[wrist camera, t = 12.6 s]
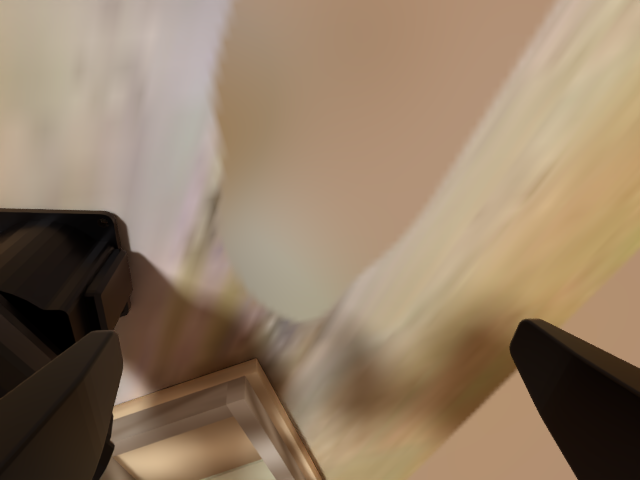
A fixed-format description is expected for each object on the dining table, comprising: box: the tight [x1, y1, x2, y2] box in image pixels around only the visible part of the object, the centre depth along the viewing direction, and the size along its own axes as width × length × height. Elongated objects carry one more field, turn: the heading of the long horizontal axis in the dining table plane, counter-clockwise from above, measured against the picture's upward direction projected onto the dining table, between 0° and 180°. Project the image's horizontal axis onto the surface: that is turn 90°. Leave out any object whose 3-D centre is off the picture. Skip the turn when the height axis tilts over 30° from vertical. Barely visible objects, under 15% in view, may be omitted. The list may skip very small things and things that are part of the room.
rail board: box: [101, 358, 322, 480], centre depth 28 cm, size 17×14×3 cm
